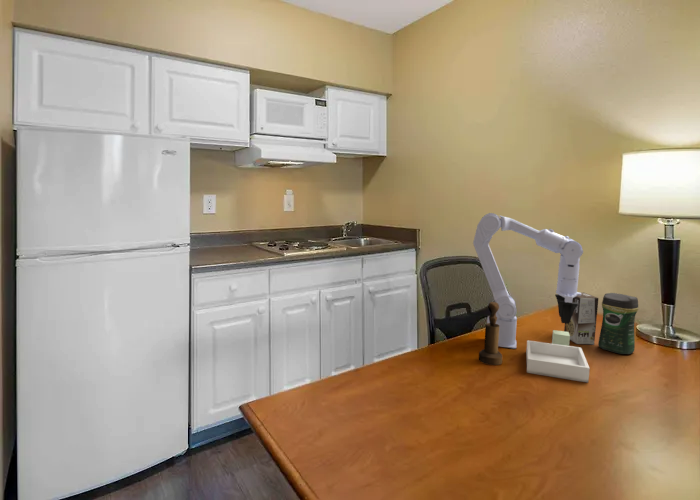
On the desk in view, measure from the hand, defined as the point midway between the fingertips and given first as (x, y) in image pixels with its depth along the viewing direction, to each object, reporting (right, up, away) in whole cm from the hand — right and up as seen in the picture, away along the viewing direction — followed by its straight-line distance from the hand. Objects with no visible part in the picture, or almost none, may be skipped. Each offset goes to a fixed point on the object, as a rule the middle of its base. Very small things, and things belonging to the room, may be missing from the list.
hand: (564, 320), depth 131 cm
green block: (-1, -10, +2) cm, 10 cm away
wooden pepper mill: (-26, -11, -8) cm, 30 cm away
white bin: (-9, -12, -11) cm, 18 cm away
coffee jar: (+19, -11, +3) cm, 22 cm away
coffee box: (+12, -9, +13) cm, 20 cm away
